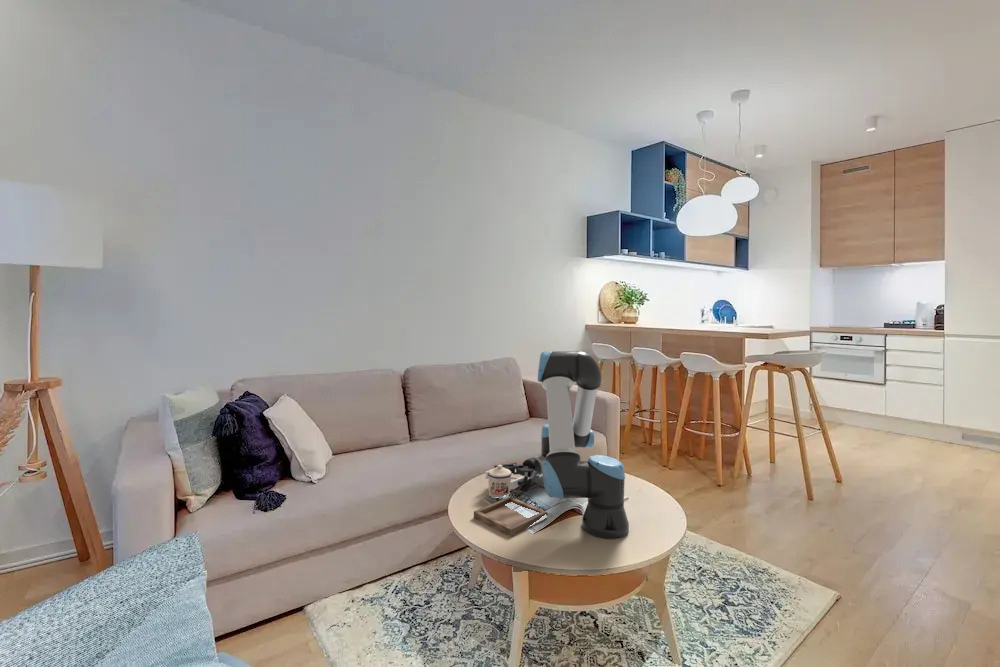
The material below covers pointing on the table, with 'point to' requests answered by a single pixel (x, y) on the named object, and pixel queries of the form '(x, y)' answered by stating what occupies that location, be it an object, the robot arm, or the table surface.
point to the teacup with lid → (500, 481)
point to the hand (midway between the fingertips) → (498, 480)
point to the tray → (507, 516)
